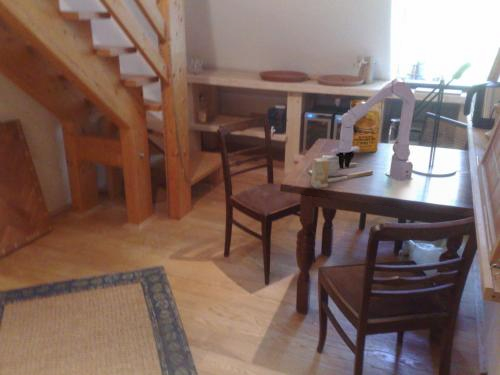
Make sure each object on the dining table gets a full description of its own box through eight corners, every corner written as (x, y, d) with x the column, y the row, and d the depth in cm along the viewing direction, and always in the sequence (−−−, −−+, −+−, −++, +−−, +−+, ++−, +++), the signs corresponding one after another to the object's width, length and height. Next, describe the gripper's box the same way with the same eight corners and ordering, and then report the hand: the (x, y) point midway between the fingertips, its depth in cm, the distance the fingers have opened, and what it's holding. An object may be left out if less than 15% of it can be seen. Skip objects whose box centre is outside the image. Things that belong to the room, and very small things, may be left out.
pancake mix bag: (343, 149, 242) (348, 99, 231) (376, 148, 245) (382, 98, 234) (348, 153, 236) (352, 101, 225) (381, 151, 239) (387, 100, 228)
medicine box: (337, 173, 206) (339, 156, 203) (337, 177, 202) (338, 159, 199) (321, 171, 208) (322, 154, 205) (320, 175, 204) (321, 158, 201)
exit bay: (347, 178, 200) (347, 176, 200) (324, 182, 196) (325, 180, 195) (330, 169, 212) (330, 167, 212) (308, 172, 208) (308, 170, 207)
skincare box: (314, 188, 189) (316, 161, 185) (310, 184, 193) (312, 158, 189) (328, 187, 191) (330, 160, 186) (324, 183, 195) (325, 157, 190)
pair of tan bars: (372, 174, 206) (372, 171, 205) (347, 178, 201) (348, 175, 200) (355, 165, 217) (355, 162, 217) (331, 169, 212) (331, 166, 212)
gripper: (354, 135, 207) (351, 162, 212) (328, 138, 202) (325, 166, 207) (363, 139, 201) (360, 167, 206) (336, 142, 196) (334, 171, 201)
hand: (343, 167), depth 206 cm, fingers open, 3 cm apart
